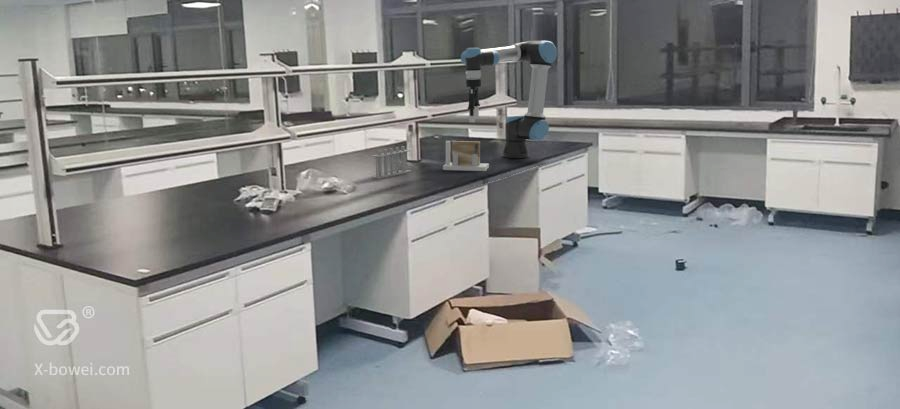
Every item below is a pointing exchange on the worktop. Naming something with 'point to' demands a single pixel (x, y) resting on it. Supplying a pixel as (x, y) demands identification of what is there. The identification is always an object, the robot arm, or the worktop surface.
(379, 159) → the test tube rack
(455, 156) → the white holder stand
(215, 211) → the worktop surface
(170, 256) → the worktop surface
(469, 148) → the oak door
